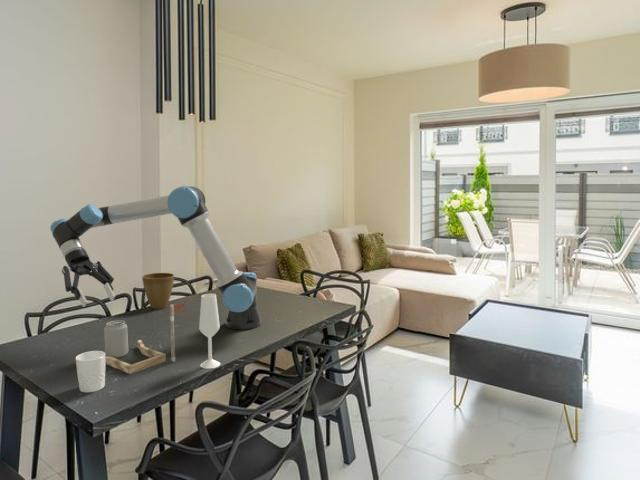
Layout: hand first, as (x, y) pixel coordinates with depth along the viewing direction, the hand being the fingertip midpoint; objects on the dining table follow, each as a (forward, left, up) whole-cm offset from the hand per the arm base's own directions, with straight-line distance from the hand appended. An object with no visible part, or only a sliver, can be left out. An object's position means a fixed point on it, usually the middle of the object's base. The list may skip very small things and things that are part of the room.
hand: (99, 301), depth 163 cm
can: (-9, +4, -18) cm, 21 cm away
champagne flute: (-45, +6, -18) cm, 49 cm away
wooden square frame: (-19, +7, -18) cm, 27 cm away
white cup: (-18, +29, -18) cm, 38 cm away
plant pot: (+9, -56, -18) cm, 60 cm away
